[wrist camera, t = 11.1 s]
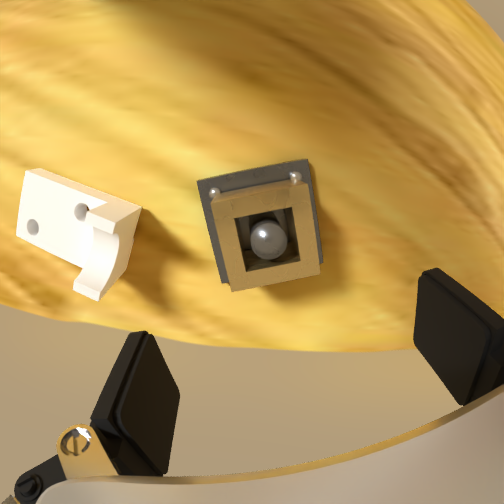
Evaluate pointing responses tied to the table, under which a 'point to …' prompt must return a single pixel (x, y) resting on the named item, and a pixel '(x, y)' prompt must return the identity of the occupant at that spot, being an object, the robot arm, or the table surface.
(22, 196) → the bracket
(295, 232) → the collar
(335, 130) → the table surface
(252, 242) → the peg base plate
